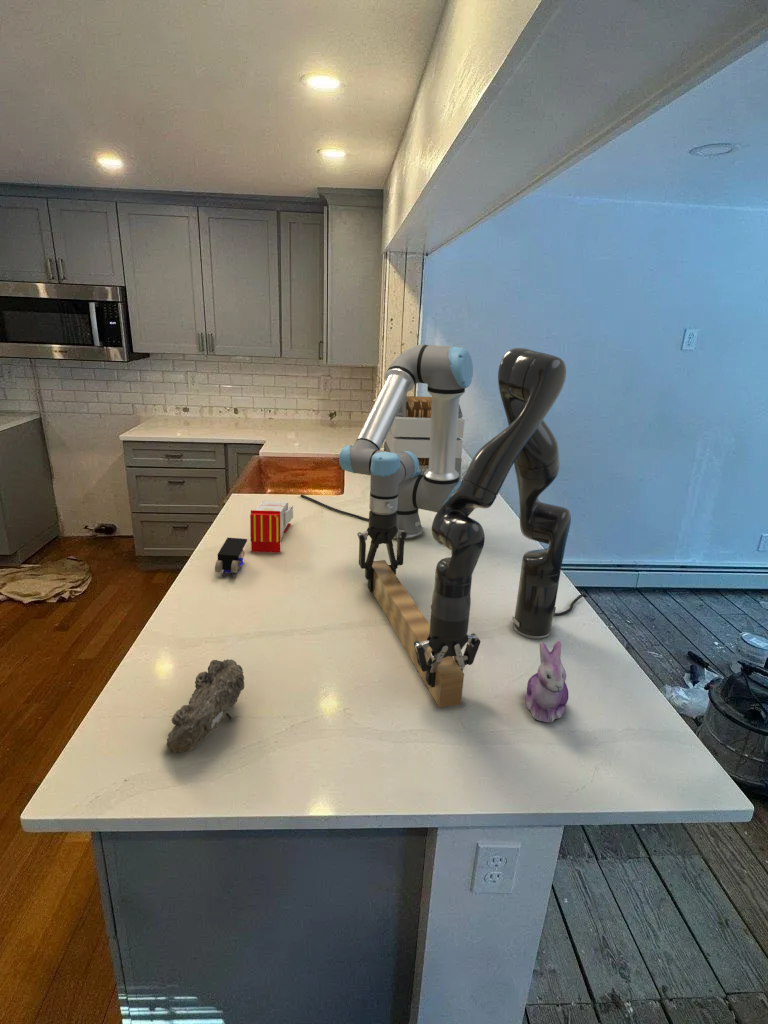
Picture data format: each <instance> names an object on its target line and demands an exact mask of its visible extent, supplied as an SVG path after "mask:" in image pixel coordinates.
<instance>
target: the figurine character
mask: <svg viewBox="0 0 768 1024" xmlns="http://www.w3.org/2000/svg"><path fill="white" fill-rule="evenodd" d="M247 542H248V538H240V537H226V539H225V541H224V543H223V544H222V546H221V547H220V549H219V551H218V552H217V560H216V562H215V564H214V572H215V573H221V577H222V578H224V577H225V576H226V574H227V573H230V574H231V573H232V574H231V578H234V577H235V575H236V573H237V572H239V571H240V567H242V566H243V565H244V564H245V562H244V558H245V551H244V547H245V546H246V544H247Z"/></svg>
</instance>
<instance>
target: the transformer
mask: <svg viewBox="0 0 768 1024" xmlns="http://www.w3.org/2000/svg"><path fill="white" fill-rule="evenodd" d="M407 394H408V393H407ZM407 394H406V396H405V399H404V401H403V403H402V405H401V407H400V409H399V411H398V413H397V415H396V417H395V420H394V422H393V424H392V426H391V428H390V430H389V432H388V434H387V436H386V438H385V440H384V443H383V451H387V452H393V453H399V452H402V451H403V452H404V451H409V452H412V453H413V454H415V455H416V457H417V459H418V461H419V467H429V452H430V430H431V408H432V396H415V395H414V396H413V395H412V396H411V395H407ZM464 429H465V419H464V418H463V411H462V408H461V405H460V404H459V413H458V428H457V443H456V459H455V470H456V471H457V472H458V473H459V481H461V472H462V461H463V460H462V453H463V442H464V441H463V440H462V439H463V438H464V431H465V430H464Z"/></svg>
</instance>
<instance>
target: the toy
mask: <svg viewBox="0 0 768 1024" xmlns="http://www.w3.org/2000/svg"><path fill="white" fill-rule="evenodd" d="M293 518H294V505H290V506H289V501H283V500H282V501H278V500H277V501H276V500H263V501H262V502H261V503H260V504H259V505H258V506H257V507H256V508H254V510H253V509H251V510H250V514H249V528H250V529H249V530H250V551H251V553H272V554H273V553H281V538H282V537H283V534H287V531H288V530H289V528H290V527H291V525H292V524H291V521H292V520H293Z"/></svg>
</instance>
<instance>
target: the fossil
mask: <svg viewBox="0 0 768 1024" xmlns="http://www.w3.org/2000/svg"><path fill="white" fill-rule="evenodd" d="M243 670H244V669H243V667H242V665H240V664H237V662H236V661H235V660H234V659H232V658H231V659H227V658H226V659H224V660H223V661H222V660H217V659H212V660H211V661H210V663H209V665H208V666H207V671H201V672H199V673H198V674H197V675H196V676H195V680H194V684H195V685H194V687H195V689H194V690H193V693H192V694H191V697H190V698H189V700H188V704H184V705H182V706H181V707H180V709H177V710H176V711H175V713H174V715H173V716H172V718H171V723H172V724H173V727H172V730H171V731H170V732H168V734H167V738H166V741H167V742H166V745H167V749H168V750H169V751H173V752H174V753H176V754H178V753H182V752H188V751H189V752H192V751H193V750H195V748H196V747H197V746H199V744H200V743H201V742H203V741H204V740H205V739H206V738H207V737H208V736H209V735H210V734H211V733H212V732H214V730H215V729H217V727H218V726H219V724H220V722H221V721H222V720H223V719H224V718H225V716H226V717H227V719H229V720H233V717H232V715H230V714H229V710H230V709H231V708H234V706H235V704H236V703H237V702H238V699H239V697H240V695H241V693H242V691H243V690H245V689H244V688H245V675H244V671H243Z"/></svg>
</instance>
